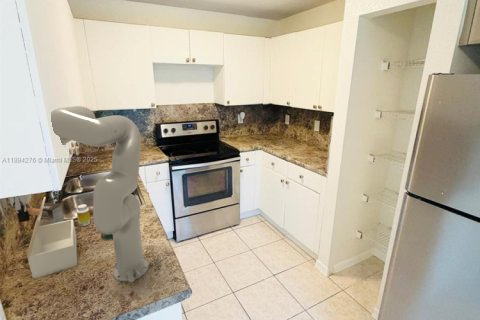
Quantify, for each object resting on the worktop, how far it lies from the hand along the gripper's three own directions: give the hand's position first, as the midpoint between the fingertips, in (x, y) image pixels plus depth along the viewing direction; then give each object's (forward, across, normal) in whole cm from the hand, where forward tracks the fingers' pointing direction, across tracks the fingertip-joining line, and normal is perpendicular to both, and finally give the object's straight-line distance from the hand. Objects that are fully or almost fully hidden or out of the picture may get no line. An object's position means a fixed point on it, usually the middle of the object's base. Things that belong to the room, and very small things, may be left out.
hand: (25, 218), depth 100 cm
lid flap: (+3, 0, -3) cm, 5 cm away
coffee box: (+20, +18, -5) cm, 27 cm away
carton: (+20, 0, -7) cm, 21 cm away
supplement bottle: (+20, +24, -18) cm, 36 cm away
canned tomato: (+20, +5, -28) cm, 35 cm away
